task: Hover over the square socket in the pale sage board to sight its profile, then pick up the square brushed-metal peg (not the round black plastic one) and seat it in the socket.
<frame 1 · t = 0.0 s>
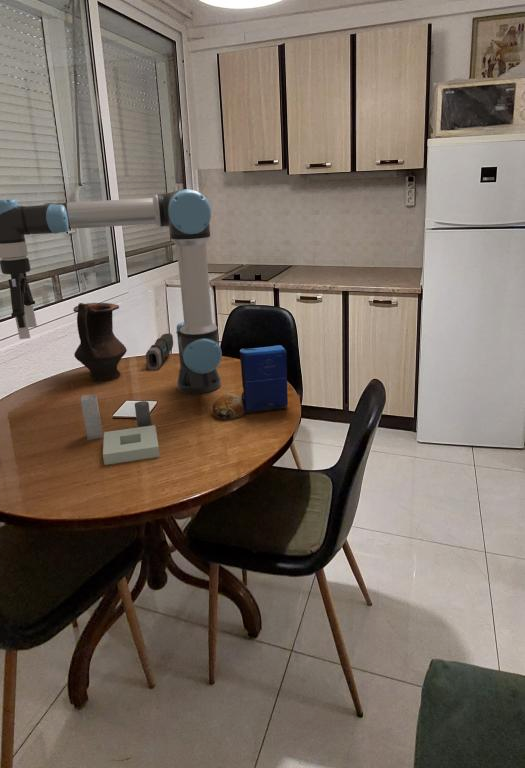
hand: (28, 332, 161), 28 cm above the table, fingers open, 13 cm apart
round peg: (144, 429, 161), on the table
tube: (162, 359, 226), on the table
bread roll: (228, 414, 169), on the table, touching book
socket board: (131, 449, 150), on the table
book: (264, 410, 171), on the table, touching bread roll
jug: (103, 378, 206), on the table
square peg: (95, 436, 158), on the table
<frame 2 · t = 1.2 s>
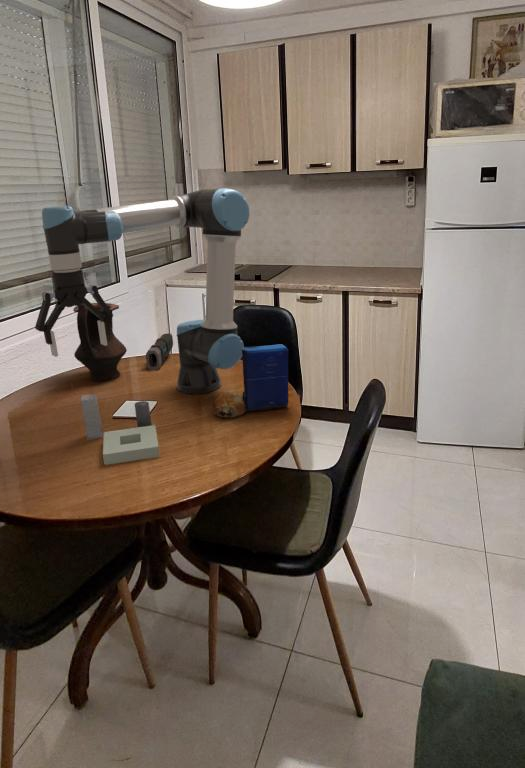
hand: (80, 350, 149), 26 cm above the table, fingers open, 13 cm apart
bread roll: (229, 412, 169), on the table, touching book
book: (265, 409, 171), on the table, touching bread roll
everything else where it was.
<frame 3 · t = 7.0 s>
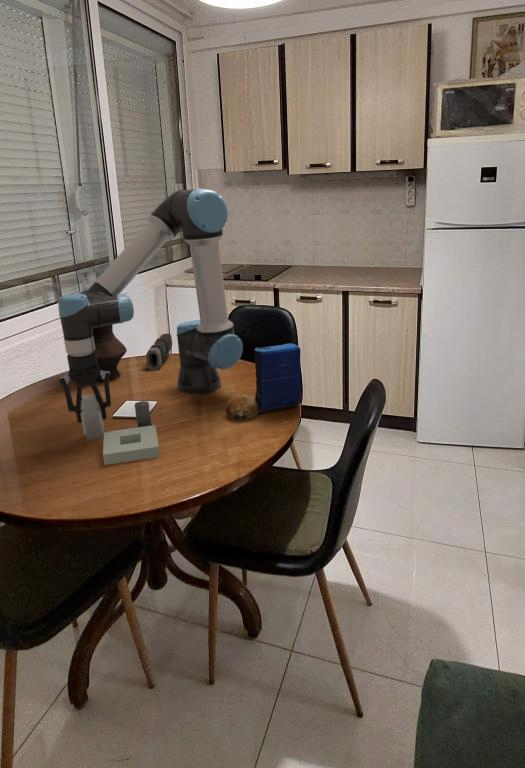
hand: (94, 430, 158), 2 cm above the table, fingers closed on square peg, 4 cm apart
bread roll: (242, 415, 168), on the table, touching book
book: (277, 408, 171), on the table, touching bread roll
square peg: (95, 436, 158), on the table, touching gripper
everything else where it was.
when the fingers open (4 cm above the table, at t = 13.2 s): square peg drops 2 cm, resting in socket board.
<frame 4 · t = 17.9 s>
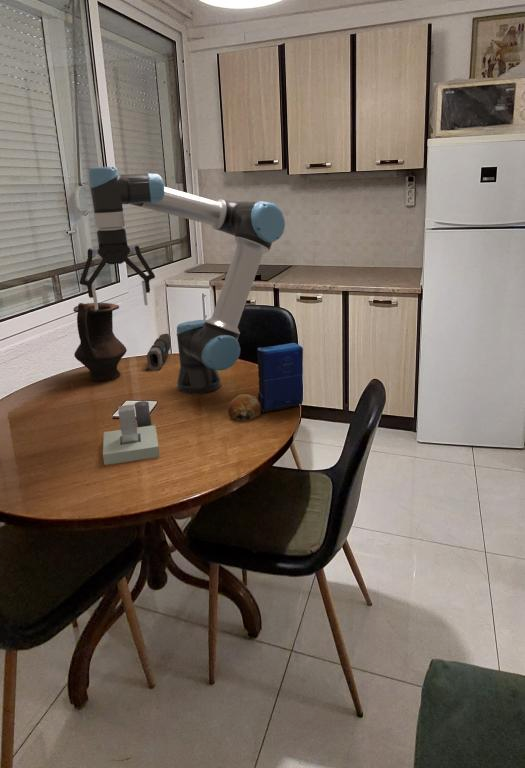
hand: (121, 306, 156), 35 cm above the table, fingers open, 13 cm apart
square peg: (132, 449, 150), resting in socket board
at the end: square peg 0.1 cm off-centre on the socket board, point 0.0 cm above the socket board's base; square peg tilted 0°; the gripper is holding nothing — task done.
